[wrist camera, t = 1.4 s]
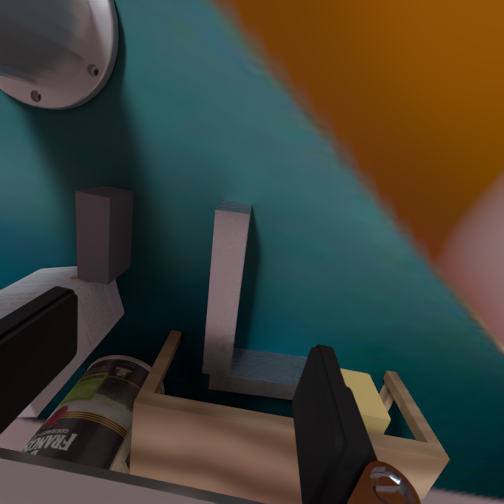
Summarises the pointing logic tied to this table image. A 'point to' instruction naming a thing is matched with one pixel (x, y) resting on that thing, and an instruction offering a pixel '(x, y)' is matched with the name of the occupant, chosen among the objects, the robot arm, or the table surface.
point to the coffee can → (95, 416)
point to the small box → (89, 317)
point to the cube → (367, 401)
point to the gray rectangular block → (103, 233)
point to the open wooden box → (254, 442)
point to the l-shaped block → (226, 313)
